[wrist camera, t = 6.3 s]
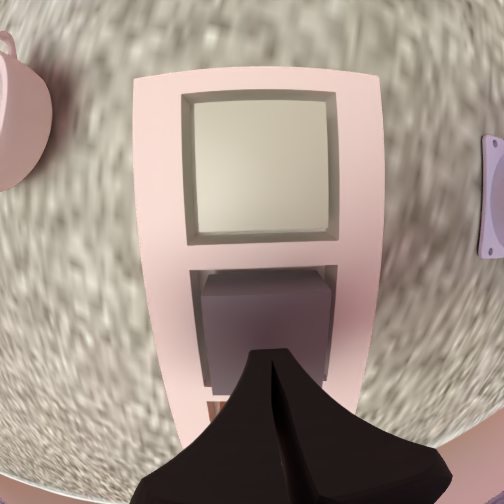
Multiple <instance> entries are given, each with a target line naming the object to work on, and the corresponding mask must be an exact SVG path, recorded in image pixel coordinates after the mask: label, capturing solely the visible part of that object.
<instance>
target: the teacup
mask: <svg viewBox="0 0 504 504" xmlns="http://www.w3.org/2000/svg"><path fill="white" fill-rule="evenodd" d="M0 39H1V40H3V41H4V42H5V44H6V46H7V50H8V55H7V54H5V53H3V52H1V51H0V192H2V191H5V190H7V189H10V188H12V187H14V186H16V185H17V184H18V183H20V182H21V181H22V180H23V179H24V178H25V177H26V176H27V175H28V174H29V173H30V172H31V170H32V169H33V168H34V167H35V165H36V164H37V162H38V161H39V159H40V157H41V155H42V153H43V151H44V149H45V147H46V144H47V141H48V138H49V134H50V130H51V124H52V102H51V97H50V93H49V90H48V88H47V86H46V84H45V82H44V81H43V79H42V78H41V77H40V76H38V75H37V74H36V73H35V72H34V71H33V70H32V69H30V68H29V67H28V66H26V65H25V64H23V63H21V62H20V61H18V60H17V54H16V48H15V43H14V40H13V37H12V36H11V34H9V33H8V32H6V31H0Z"/></svg>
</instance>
